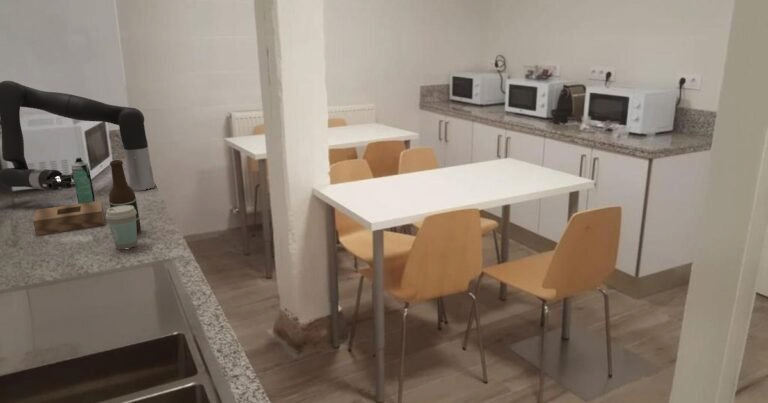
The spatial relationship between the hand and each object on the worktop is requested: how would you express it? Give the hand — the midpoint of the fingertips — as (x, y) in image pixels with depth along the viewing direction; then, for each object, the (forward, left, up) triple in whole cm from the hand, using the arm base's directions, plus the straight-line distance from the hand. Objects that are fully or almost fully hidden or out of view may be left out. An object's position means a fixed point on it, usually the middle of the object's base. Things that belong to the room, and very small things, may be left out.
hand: (80, 181), depth 204 cm
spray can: (-1, +1, -11) cm, 11 cm away
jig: (+4, +15, -11) cm, 19 cm away
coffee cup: (-12, +48, -11) cm, 51 cm away
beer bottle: (-13, +35, -11) cm, 39 cm away
